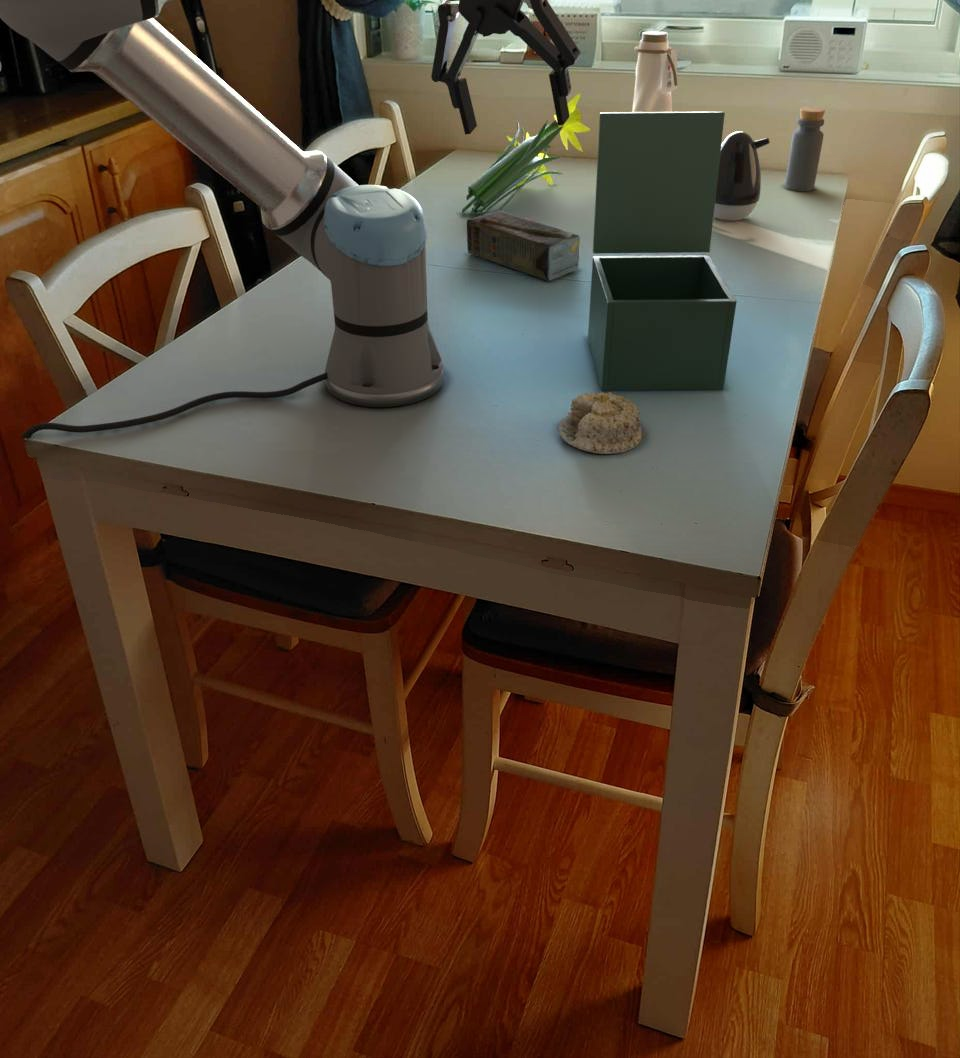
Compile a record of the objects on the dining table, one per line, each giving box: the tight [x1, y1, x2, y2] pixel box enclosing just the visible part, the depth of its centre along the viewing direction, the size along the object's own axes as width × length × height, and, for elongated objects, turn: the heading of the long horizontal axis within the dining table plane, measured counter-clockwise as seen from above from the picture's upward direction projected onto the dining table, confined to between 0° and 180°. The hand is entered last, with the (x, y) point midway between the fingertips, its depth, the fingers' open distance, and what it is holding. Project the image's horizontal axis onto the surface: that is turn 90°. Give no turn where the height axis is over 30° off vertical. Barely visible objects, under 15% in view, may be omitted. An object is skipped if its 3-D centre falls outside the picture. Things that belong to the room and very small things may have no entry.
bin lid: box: [592, 111, 726, 254], centre depth 127 cm, size 17×16×1 cm
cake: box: [557, 391, 643, 455], centre depth 114 cm, size 10×10×5 cm
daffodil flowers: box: [461, 92, 591, 216], centre depth 192 cm, size 17×15×35 cm
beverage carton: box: [466, 209, 581, 282], centre depth 162 cm, size 8×19×7 cm, turn 45°
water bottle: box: [631, 30, 678, 112], centre depth 196 cm, size 10×9×28 cm
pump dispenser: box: [713, 131, 770, 222], centre depth 180 cm, size 10×10×15 cm
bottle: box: [784, 106, 826, 192], centre depth 196 cm, size 6×6×15 cm
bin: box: [587, 254, 738, 392], centre depth 128 cm, size 17×16×12 cm
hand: (516, 126), depth 132 cm, fingers open, 13 cm apart
